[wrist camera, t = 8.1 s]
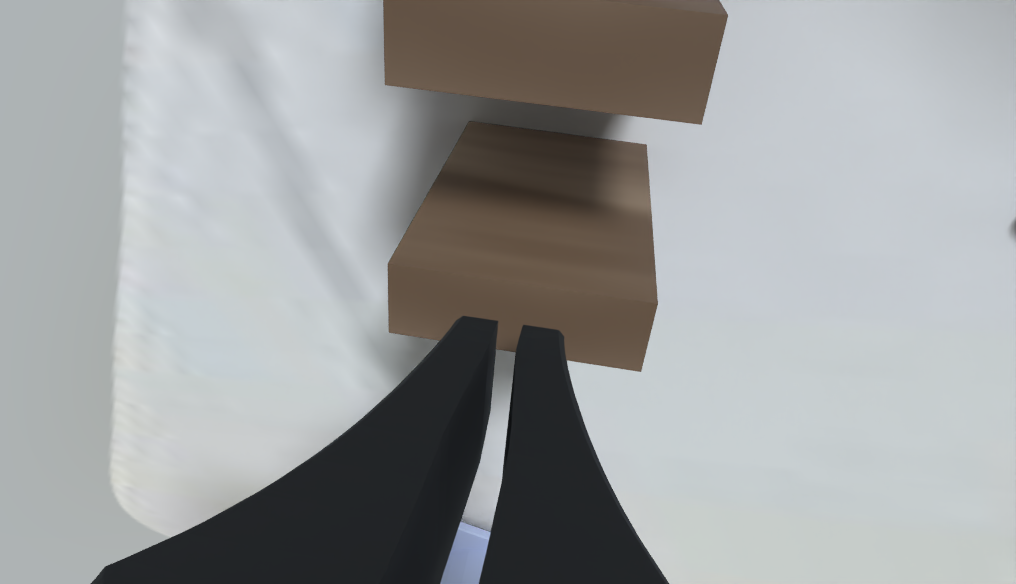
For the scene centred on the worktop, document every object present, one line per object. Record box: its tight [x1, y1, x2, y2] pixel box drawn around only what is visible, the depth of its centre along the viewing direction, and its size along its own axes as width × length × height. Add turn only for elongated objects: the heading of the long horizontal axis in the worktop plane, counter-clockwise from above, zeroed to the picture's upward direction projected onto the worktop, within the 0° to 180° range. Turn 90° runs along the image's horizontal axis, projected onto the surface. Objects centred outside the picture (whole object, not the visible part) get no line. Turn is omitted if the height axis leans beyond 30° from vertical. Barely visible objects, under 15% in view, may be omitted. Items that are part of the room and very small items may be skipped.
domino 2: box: [388, 121, 658, 372], centre depth 16 cm, size 2×5×8 cm, turn 85°
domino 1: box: [383, 0, 728, 125], centre depth 14 cm, size 2×5×8 cm, turn 85°
